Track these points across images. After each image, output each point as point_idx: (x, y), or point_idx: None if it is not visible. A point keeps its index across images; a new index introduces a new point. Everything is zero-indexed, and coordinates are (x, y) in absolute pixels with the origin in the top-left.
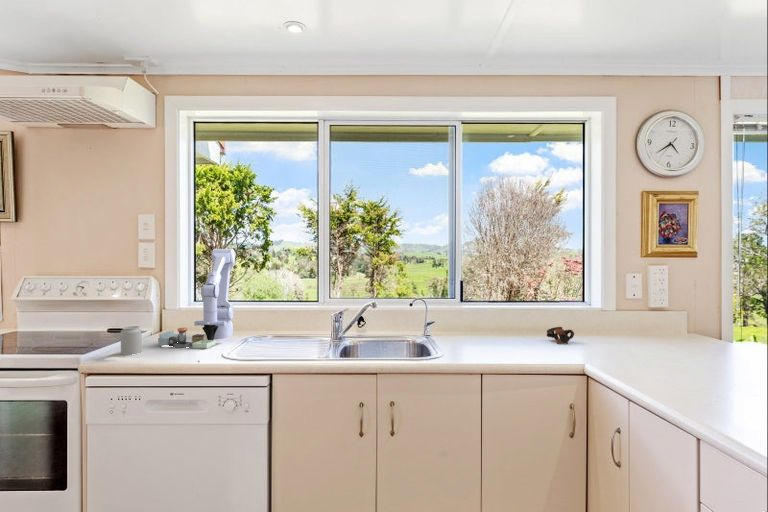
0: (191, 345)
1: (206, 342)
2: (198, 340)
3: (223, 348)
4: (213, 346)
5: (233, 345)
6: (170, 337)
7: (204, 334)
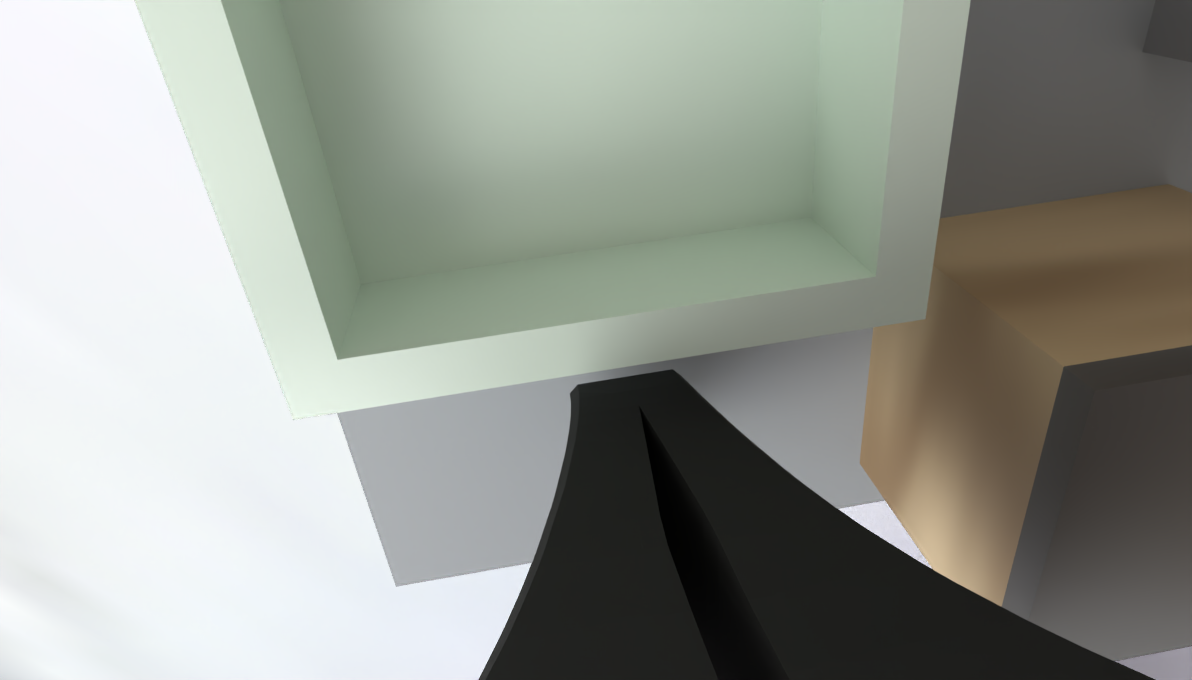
0: (1151, 31)
1: (665, 267)
2: (1049, 275)
3: (56, 304)
4: None
5: (137, 631)
6: None
7: None
